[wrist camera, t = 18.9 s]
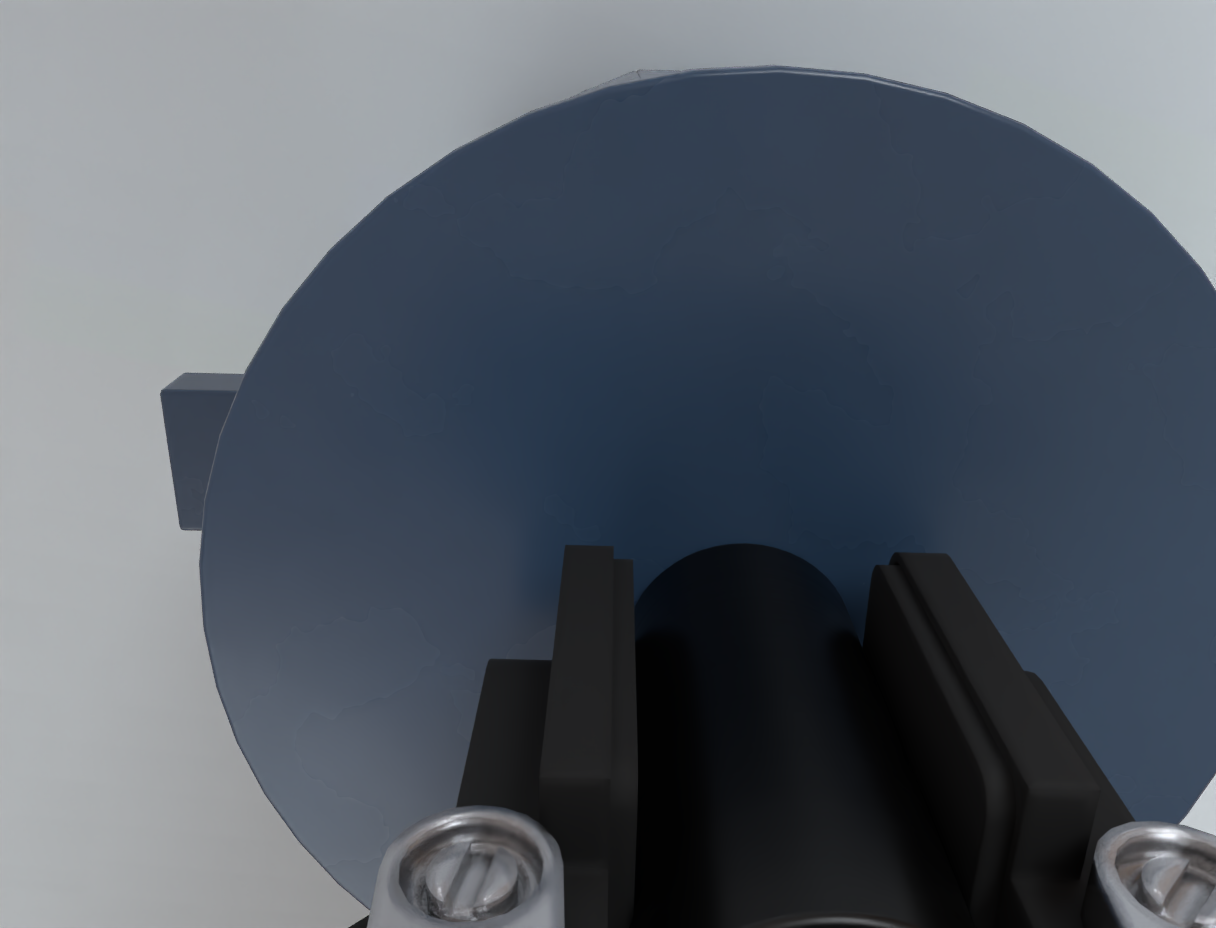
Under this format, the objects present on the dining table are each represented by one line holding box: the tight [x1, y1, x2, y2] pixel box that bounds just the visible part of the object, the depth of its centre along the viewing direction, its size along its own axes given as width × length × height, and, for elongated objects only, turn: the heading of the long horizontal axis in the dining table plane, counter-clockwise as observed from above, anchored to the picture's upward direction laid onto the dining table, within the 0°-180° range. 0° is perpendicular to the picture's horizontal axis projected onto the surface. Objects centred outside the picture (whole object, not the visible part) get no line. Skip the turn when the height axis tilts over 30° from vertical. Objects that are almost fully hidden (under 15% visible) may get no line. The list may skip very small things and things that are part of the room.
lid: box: [199, 65, 1216, 928], centre depth 10 cm, size 12×12×7 cm
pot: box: [160, 70, 678, 531], centre depth 20 cm, size 12×17×9 cm
